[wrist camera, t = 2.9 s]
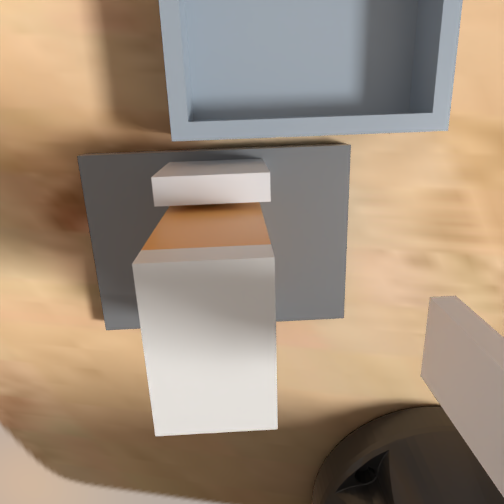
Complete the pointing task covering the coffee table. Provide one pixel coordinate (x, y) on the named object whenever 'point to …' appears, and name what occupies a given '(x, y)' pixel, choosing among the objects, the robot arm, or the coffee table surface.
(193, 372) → the block
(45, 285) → the coffee table surface
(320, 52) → the tray
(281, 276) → the block
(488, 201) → the coffee table surface
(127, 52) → the coffee table surface
